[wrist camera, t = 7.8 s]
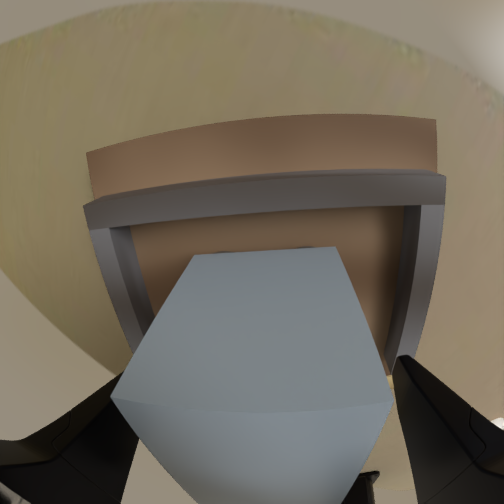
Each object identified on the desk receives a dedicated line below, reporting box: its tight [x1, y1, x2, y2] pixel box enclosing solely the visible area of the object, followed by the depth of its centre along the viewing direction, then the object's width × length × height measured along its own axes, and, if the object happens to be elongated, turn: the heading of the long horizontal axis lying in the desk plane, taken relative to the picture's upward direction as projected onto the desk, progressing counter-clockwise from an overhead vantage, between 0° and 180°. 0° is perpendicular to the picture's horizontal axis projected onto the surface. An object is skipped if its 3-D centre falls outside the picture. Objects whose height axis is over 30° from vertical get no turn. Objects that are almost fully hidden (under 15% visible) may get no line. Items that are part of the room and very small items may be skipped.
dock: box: [83, 114, 446, 389], centre depth 12 cm, size 14×14×4 cm
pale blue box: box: [110, 246, 394, 504], centre depth 9 cm, size 8×5×8 cm, turn 6°
